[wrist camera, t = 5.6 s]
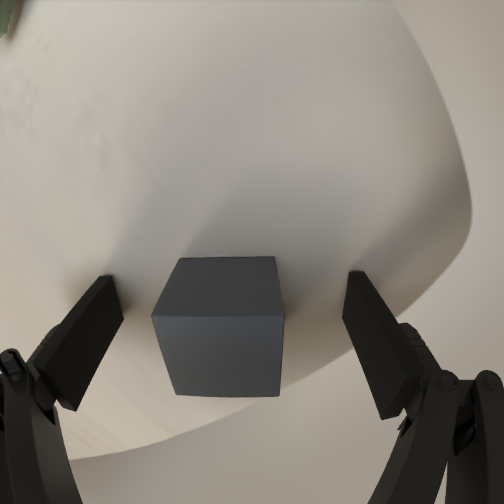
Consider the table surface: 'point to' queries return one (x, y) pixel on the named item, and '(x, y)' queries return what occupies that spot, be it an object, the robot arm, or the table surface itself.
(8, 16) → the drawer
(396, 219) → the table surface
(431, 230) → the table surface
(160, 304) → the block
